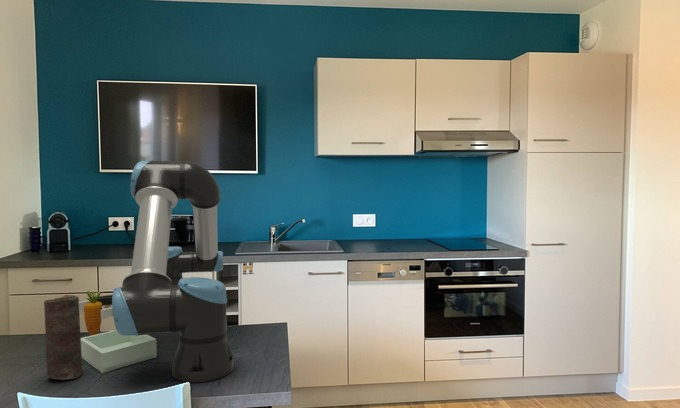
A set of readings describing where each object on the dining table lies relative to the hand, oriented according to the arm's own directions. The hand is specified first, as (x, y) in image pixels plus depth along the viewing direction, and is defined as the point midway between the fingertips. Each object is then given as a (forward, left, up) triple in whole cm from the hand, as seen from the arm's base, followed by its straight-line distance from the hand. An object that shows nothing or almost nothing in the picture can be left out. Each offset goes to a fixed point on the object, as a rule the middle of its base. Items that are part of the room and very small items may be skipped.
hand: (87, 311), depth 134 cm
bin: (-20, -1, -9) cm, 22 cm away
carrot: (0, -2, -9) cm, 9 cm away
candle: (-23, +13, -9) cm, 28 cm away
